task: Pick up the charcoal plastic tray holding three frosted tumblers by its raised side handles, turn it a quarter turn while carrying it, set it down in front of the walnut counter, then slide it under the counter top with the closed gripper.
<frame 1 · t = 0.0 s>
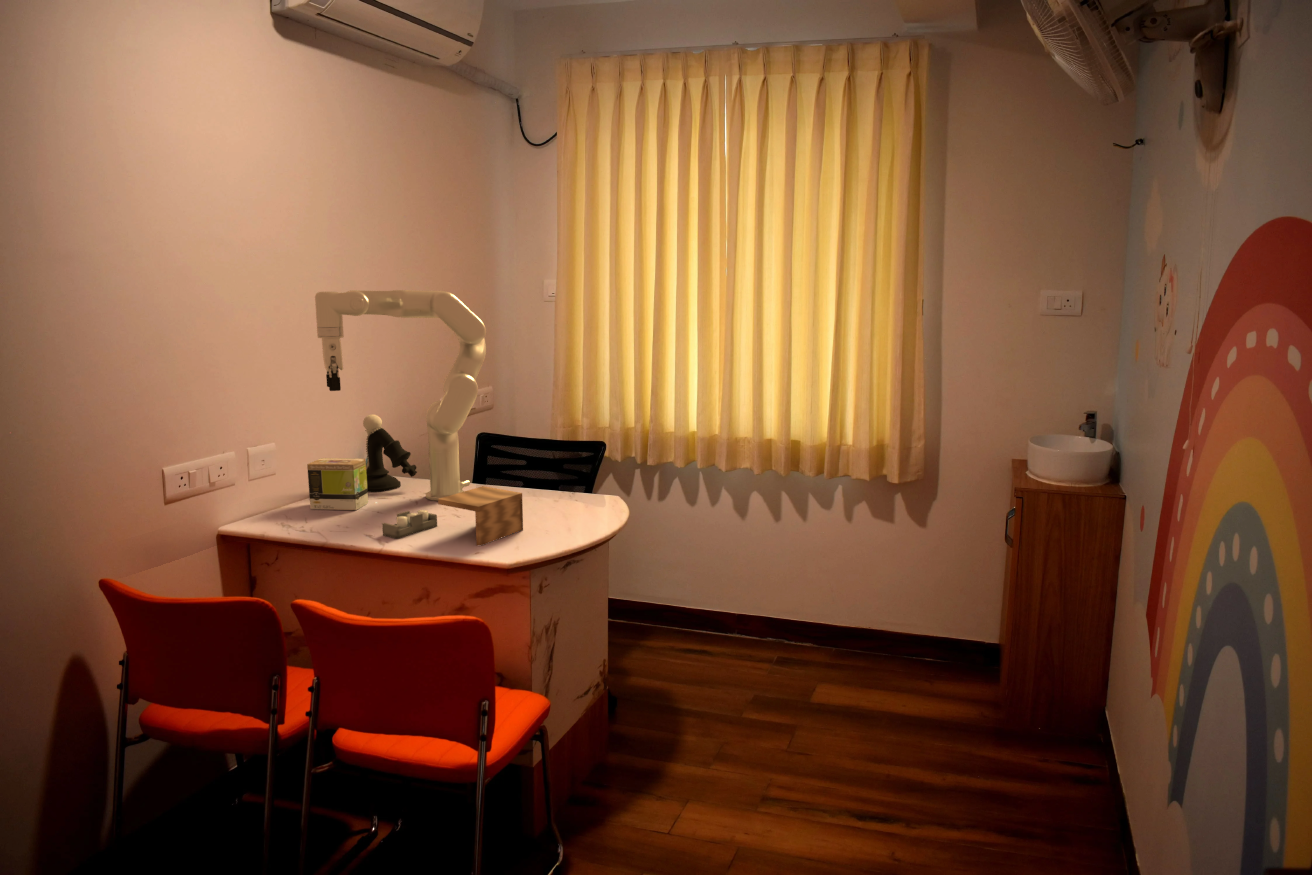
hand: (333, 388, 280), 37 cm above the table, tool pointing down, fingers open, 9 cm apart
sculpture: (388, 488, 311), on the table
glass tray: (410, 530, 261), on the table
tea box: (339, 507, 287), on the table
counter: (481, 533, 259), on the table
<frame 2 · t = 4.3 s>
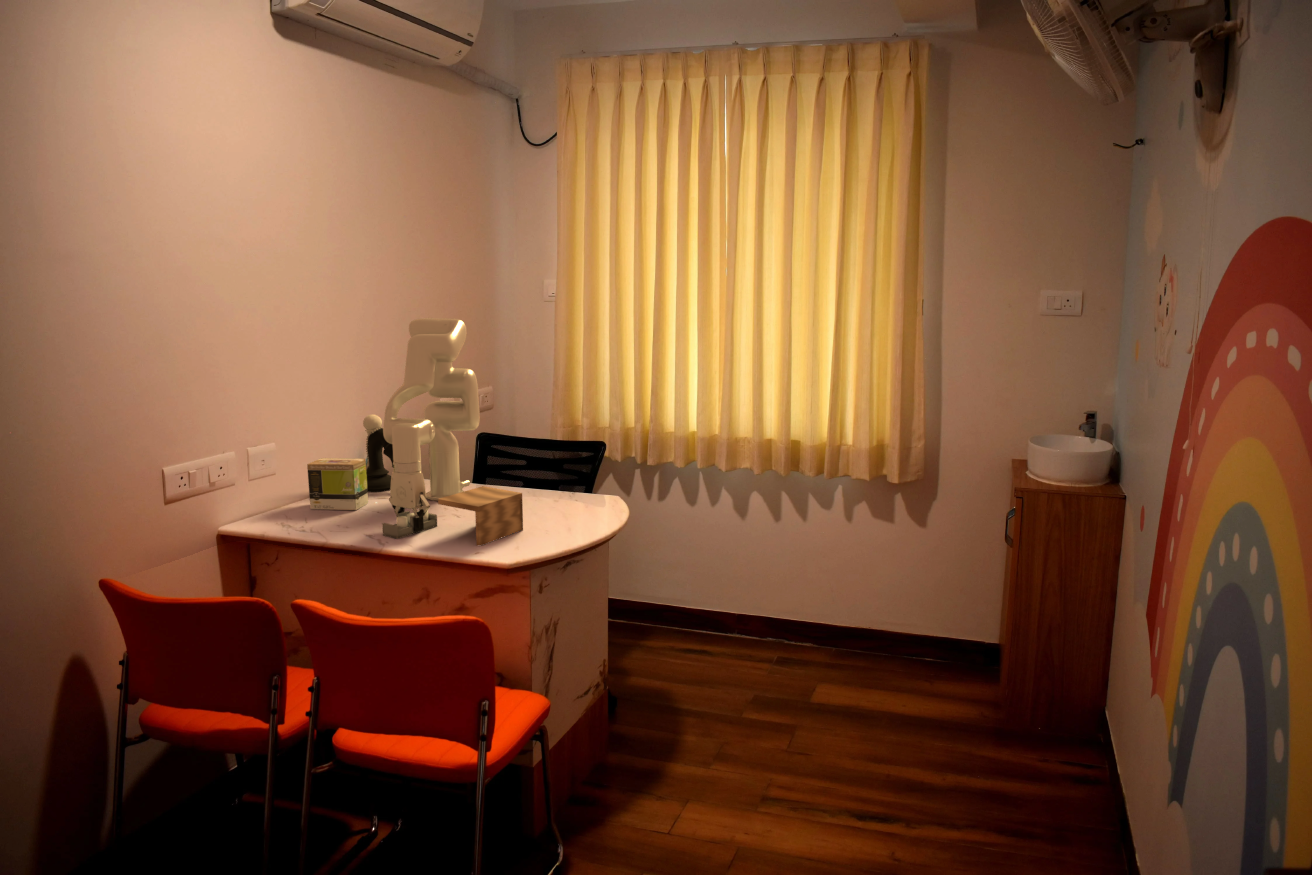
hand: (410, 528, 261), 1 cm above the table, tool pointing down, fingers closed on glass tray, 6 cm apart
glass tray: (410, 530, 261), on the table, touching gripper
everything else where it was.
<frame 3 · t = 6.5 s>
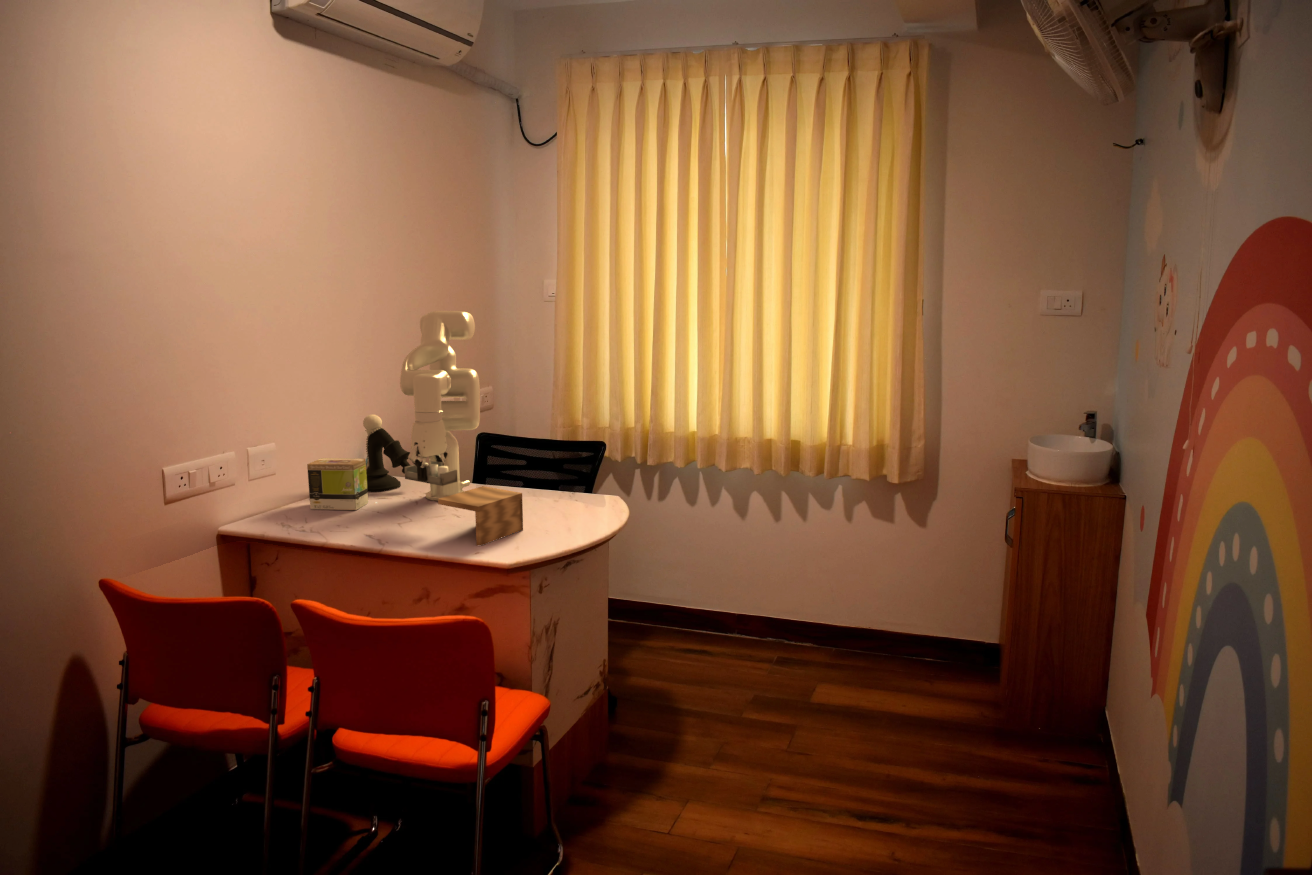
hand: (430, 477, 265), 14 cm above the table, tool pointing down, fingers closed on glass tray, 6 cm apart
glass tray: (431, 480, 265), point 13 cm above the table, touching gripper
everything else where it was.
when the fingers open (2 cm above the table, at t = 8.9 s): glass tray drops 1 cm, on the table.
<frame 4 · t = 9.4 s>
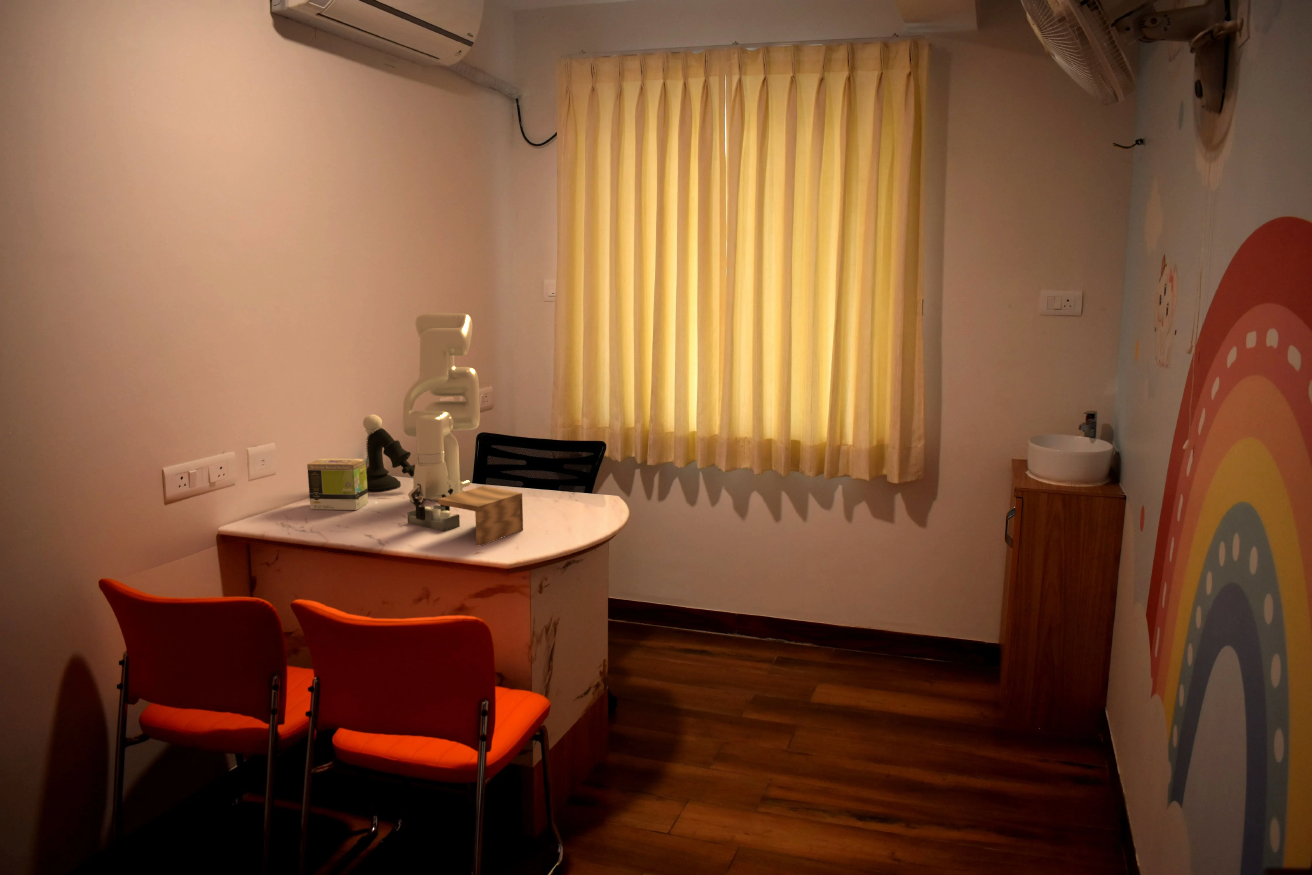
hand: (433, 515, 267), 3 cm above the table, tool pointing down, fingers open, 9 cm apart
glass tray: (433, 524, 268), on the table
everything else where it was.
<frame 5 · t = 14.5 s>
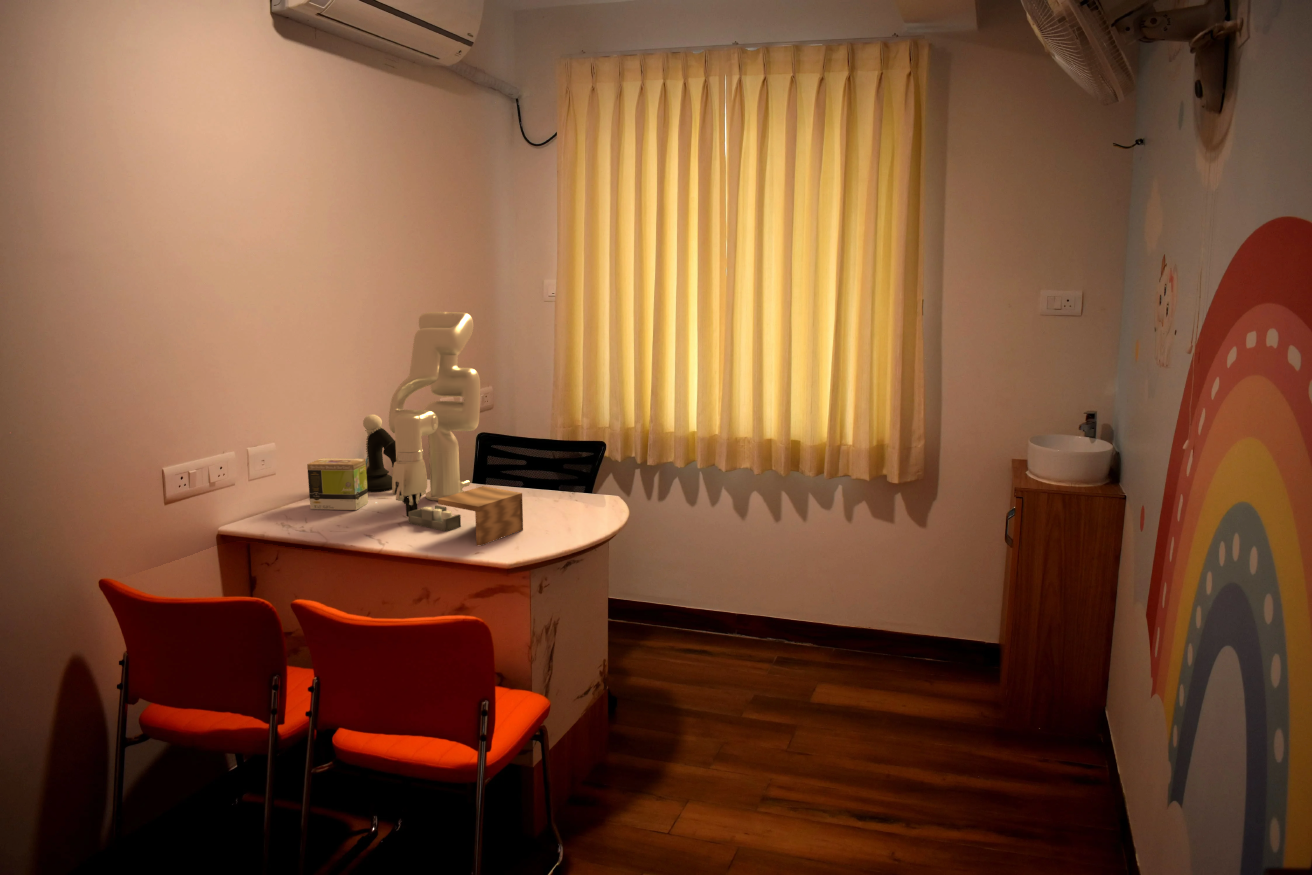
hand: (412, 516, 272), 1 cm above the table, tool pointing down, fingers closed
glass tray: (434, 524, 267), on the table, touching gripper
everything else where it was.
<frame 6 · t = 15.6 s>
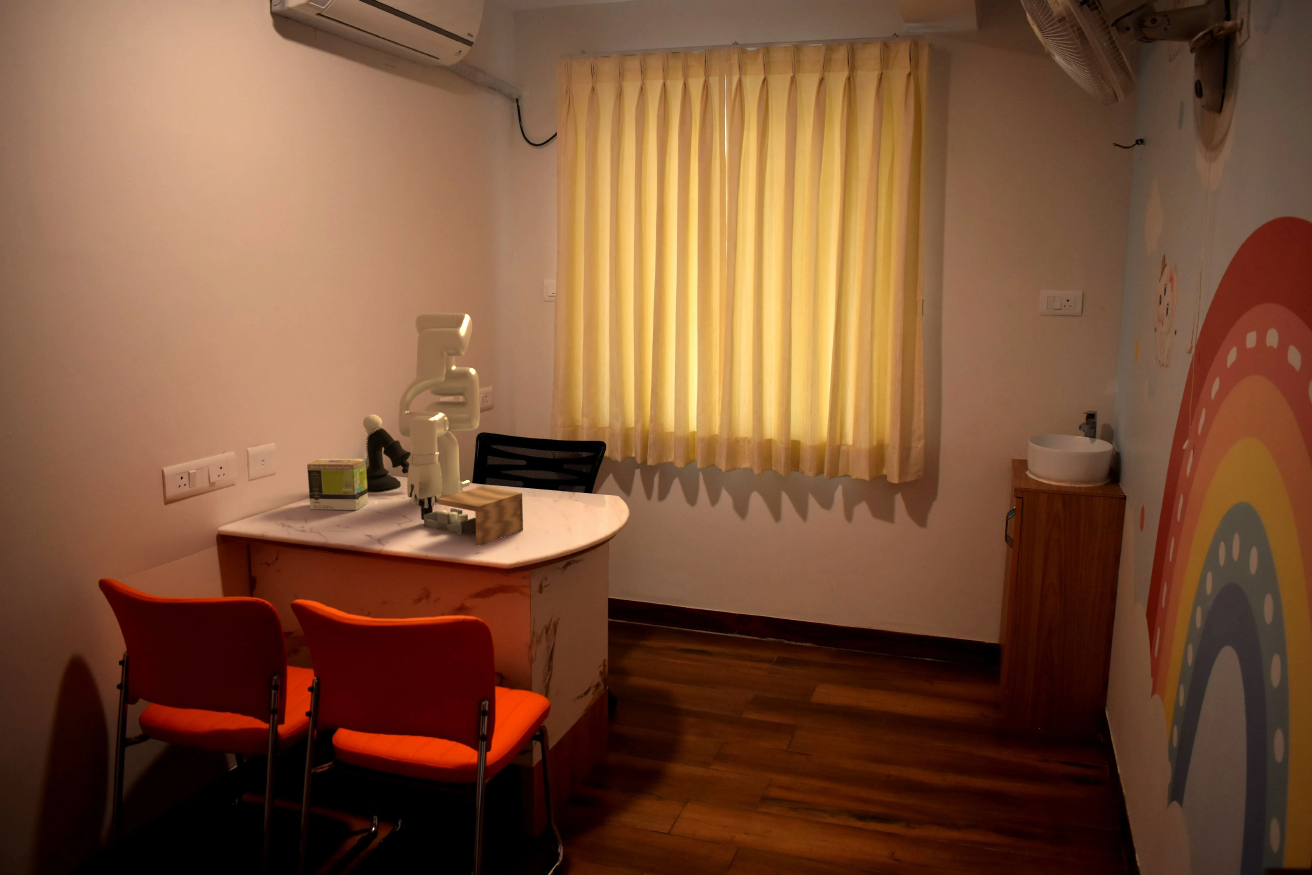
hand: (427, 519, 268), 1 cm above the table, tool pointing down, fingers closed
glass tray: (450, 528, 264), on the table, touching gripper
everything else where it was.
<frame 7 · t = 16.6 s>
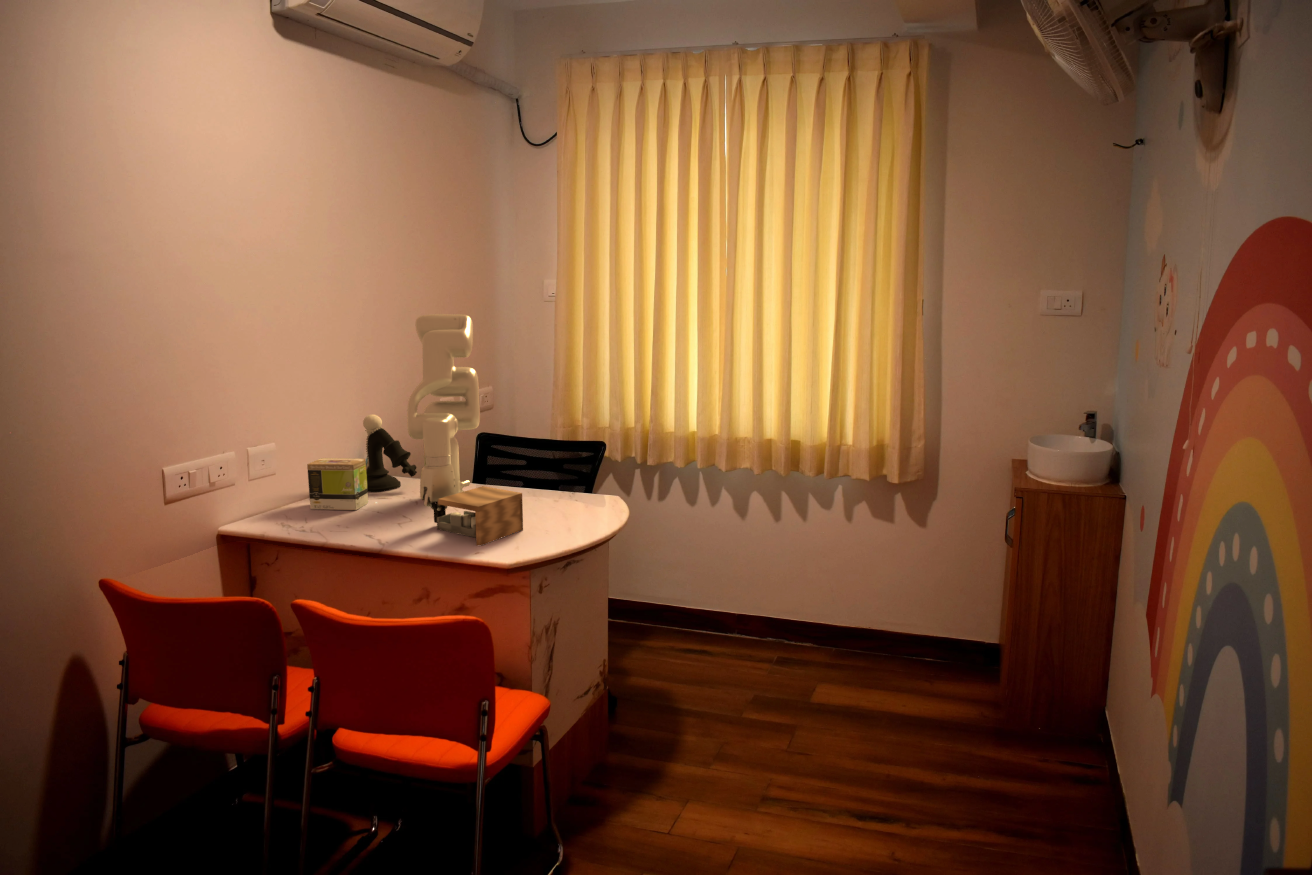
hand: (440, 522, 266), 1 cm above the table, tool pointing down, fingers closed
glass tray: (463, 530, 261), on the table, touching gripper
everything else where it was.
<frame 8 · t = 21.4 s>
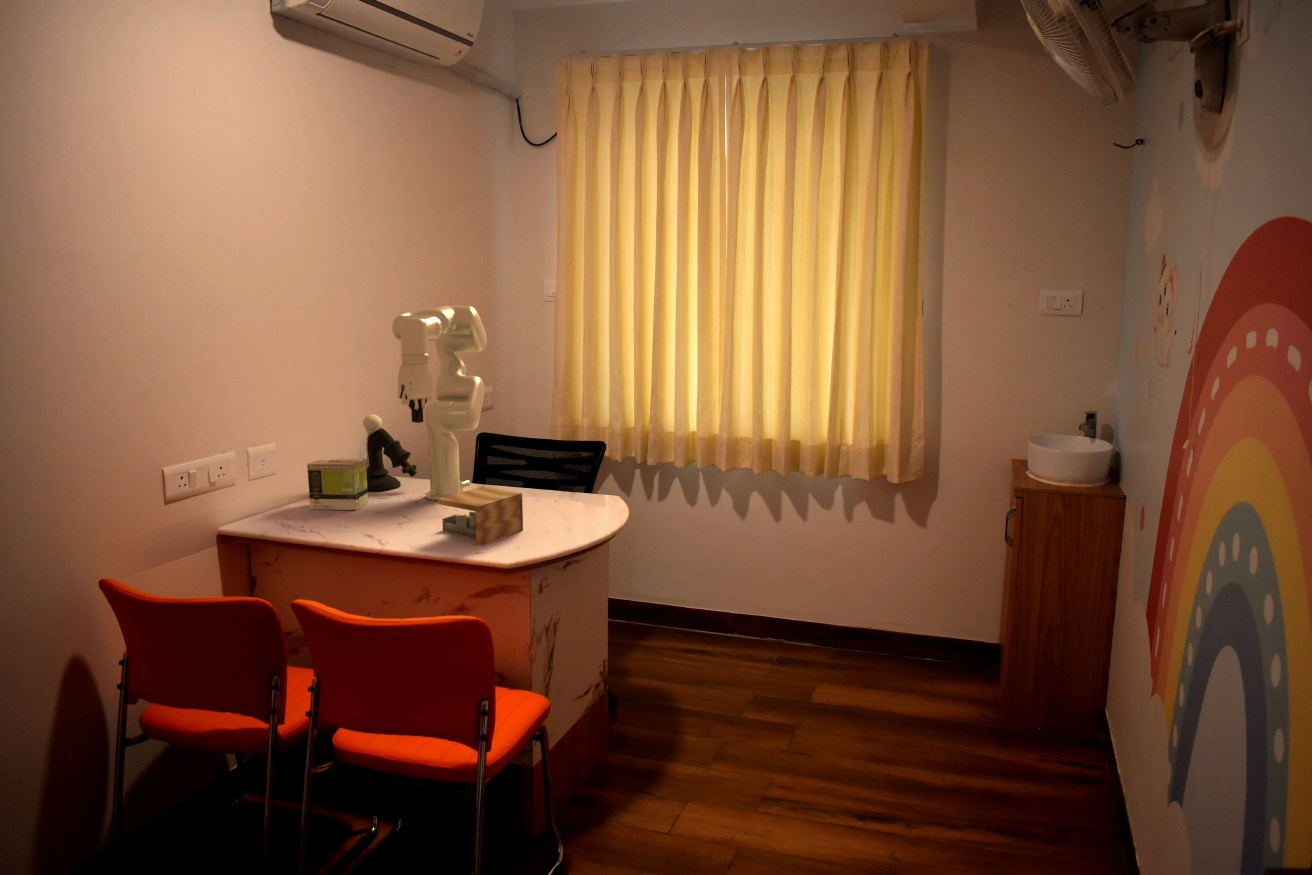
hand: (417, 422, 270), 29 cm above the table, tool pointing down, fingers closed
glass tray: (469, 531, 260), on the table
everything else where it was.
at the end: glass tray inside the target area on the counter (4.1 cm from its centre), point 0.0 cm above the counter's base; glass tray tilted 0°; the gripper is holding nothing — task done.
